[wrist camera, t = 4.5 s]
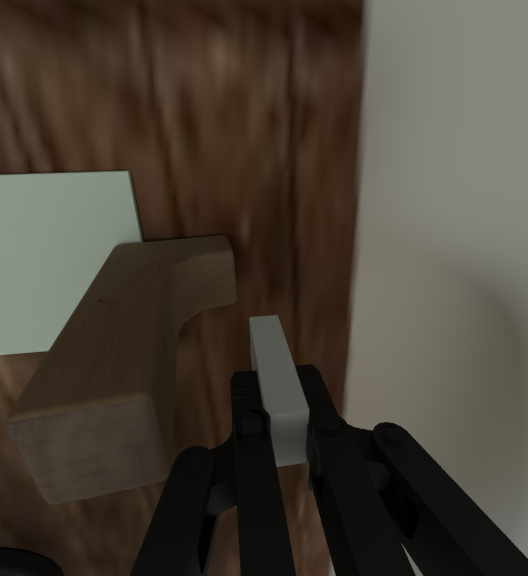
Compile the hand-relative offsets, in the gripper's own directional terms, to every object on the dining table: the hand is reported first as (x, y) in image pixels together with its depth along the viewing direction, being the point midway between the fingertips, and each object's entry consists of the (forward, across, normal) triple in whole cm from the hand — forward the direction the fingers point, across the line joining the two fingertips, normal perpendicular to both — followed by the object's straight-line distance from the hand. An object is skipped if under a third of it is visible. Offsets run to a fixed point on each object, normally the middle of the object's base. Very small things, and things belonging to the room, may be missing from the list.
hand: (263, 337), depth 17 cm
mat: (+12, +19, 0) cm, 23 cm away
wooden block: (+12, +6, 0) cm, 13 cm away
